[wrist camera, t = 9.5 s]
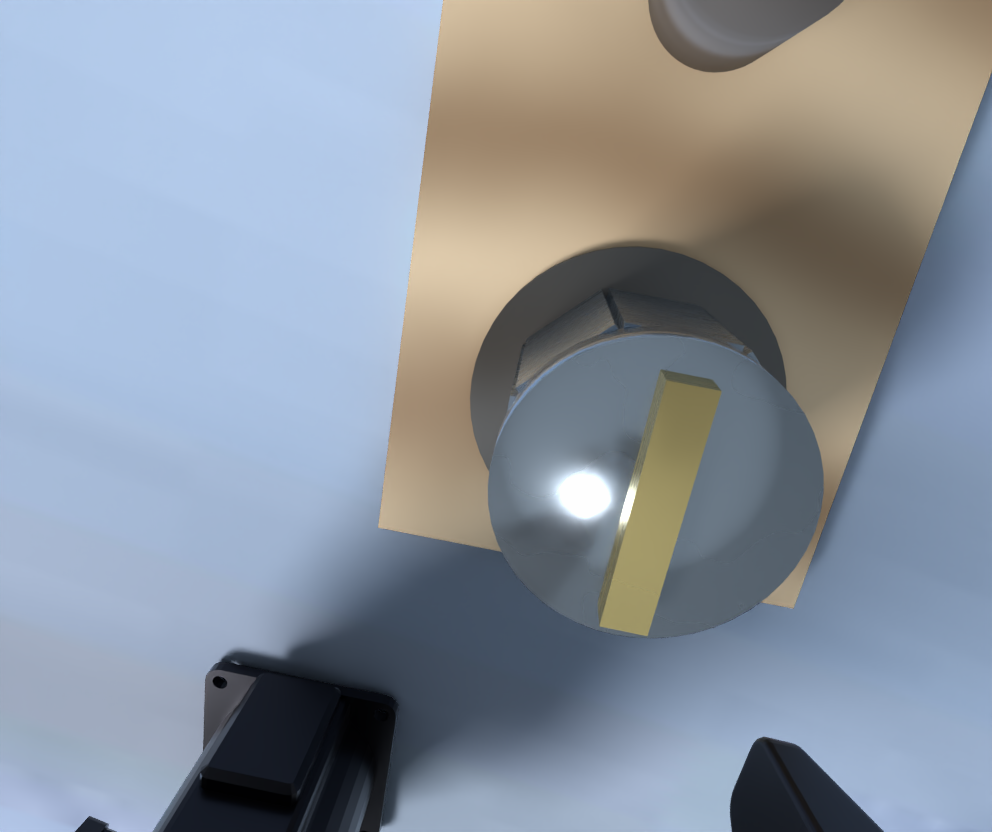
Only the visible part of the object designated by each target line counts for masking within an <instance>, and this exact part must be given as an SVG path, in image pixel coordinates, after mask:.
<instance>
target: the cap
mask: <svg viewBox="0 0 992 832" xmlns="http://www.w3.org/2000/svg"><path fill="white" fill-rule="evenodd" d="M823 494H824V472H823V466H822V459H821V453H820V450H819V446H818V443H817V440H816V437H815V434H814V431H813V429H812V427H811V425H810V423H809V421H808V419H807V417H806V415H805V413H804V412H803V411H802V409H801V408H800V406H799V405H798V403H797V402H796V401H795V399H794V398H793V396H792V395H791V394H790V393H789V392H788V391H787V390H786V389H785V388H784V387H783V386H782V385H781V384H780V383H779V382H778V381H777V380H776V379H775V378H774V377H773V376H772V375H771V374H770V373H769V372H768V371H766V370H765V369H764V368H763V367H762V366H761V364H760V363H759V361H758V359H757V358H756V356H755V354H754V353H753V351H752V350H751V349H749V348H748V347H747V346H746V345H745V344H744V343H743V342H741V341H740V340H739V339H738V338H737V337H736V336H735V335H733V334H732V333H731V332H730V331H729V330H728V329H727V328H725V327H724V326H723V325H722V324H721V323H720V322H719V321H717V320H716V319H715V318H714V317H713V316H712V315H711V314H709V313H708V312H707V311H706V310H703V309H702V308H701V307H700V306H699V305H695V304H690V303H685V302H680V301H674V300H669V299H664V298H659V297H654V296H649V295H643V294H638V293H633V292H628V291H623V290H618V289H612V288H609V290H608V294H607V297H606V296H605V294H604V293H603V291H602V290H600V291H598V292H597V293H595V294H594V295H592V296H591V297H589V298H588V299H586V300H585V301H583V302H582V303H580V304H578V305H577V306H575V307H574V308H572V309H571V310H569V311H568V312H566V313H565V314H563V315H562V316H560V317H559V318H557V319H556V320H554V321H553V322H551V323H550V324H548V325H547V326H545V327H544V328H542V329H541V330H539V331H537V332H536V333H534V334H533V335H531V336H530V337H528V338H527V339H526V343H525V345H522V348H521V353H520V357H519V361H518V365H517V369H516V373H515V377H514V382H513V386H512V390H511V394H510V399H509V404H508V409H507V413H506V415H505V418H504V420H503V422H502V425H501V427H500V430H499V434H498V437H497V441H496V445H495V449H494V453H493V457H492V461H491V464H490V470H489V479H488V507H489V513H490V519H491V525H492V528H493V531H494V534H495V537H496V540H497V543H498V545H499V547H500V549H501V551H502V553H503V555H504V558H505V559H506V561H507V562H508V564H509V566H510V567H511V569H512V570H513V572H514V573H515V575H516V576H517V577H518V578H519V579H520V580H521V582H522V583H523V584H524V585H525V586H526V587H527V589H528V590H530V591H531V592H532V593H533V594H534V595H535V596H536V597H537V598H538V599H540V600H541V601H542V602H543V603H545V604H546V605H547V606H549V607H550V608H552V609H553V610H555V611H556V612H557V613H559V614H561V615H563V616H565V617H567V618H569V619H570V620H572V621H574V622H576V623H579V624H581V625H584V626H587V627H589V628H592V629H594V630H598V631H602V632H606V633H610V634H613V635H620V636H627V637H634V638H664V637H676V636H681V635H687V634H692V633H696V632H700V631H703V630H707V629H710V628H713V627H716V626H718V625H721V624H723V623H725V622H728V621H730V620H733V619H734V618H736V617H738V616H740V615H741V614H743V613H745V612H747V611H749V610H750V609H752V608H753V607H755V606H756V605H757V604H759V603H760V602H762V601H763V600H764V599H766V598H767V597H768V596H769V595H770V594H771V593H772V592H774V591H775V590H776V589H777V588H778V587H779V586H780V585H781V584H782V583H783V582H784V581H785V580H786V578H787V577H788V576H789V575H790V574H791V572H792V571H793V570H794V569H795V568H796V566H797V565H798V563H799V561H800V560H801V558H802V557H803V555H804V554H805V552H806V550H807V548H808V546H809V544H810V542H811V539H812V537H813V535H814V533H815V530H816V527H817V523H818V520H819V517H820V513H821V507H822V500H823Z"/></svg>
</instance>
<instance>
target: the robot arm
mask: <svg viewBox="0 0 992 832" xmlns="http://www.w3.org/2000/svg"><path fill="white" fill-rule="evenodd" d="M219 676H221V677H223V678H225V679H226V680H223V679H221V678H220V677H219ZM378 709H383V710H385V711H387V713H383V712H381V711H379V710H378ZM398 711H399V708H398V703H397V702H396V700H395V699H393V698H392V697H391V696H388V695H385V694H380V693H375V692H370V691H365V690H360V689H355V688H350V687H345V686H340V685H335V684H330V683H325V682H321V681H316V680H311V679H306V678H301V677H296V676H291V675H286V674H281V673H276V672H271V671H266V670H261V669H256V668H251V667H247V666H242V665H237V664H232V663H227V662H219V663H216V664H215V665H214V666H213V667H212V668H211V670H210V671H209V672H208V674H207V675H206V679H205V707H204V740H203V753H202V754H201V756H200V757H199V759H198V760H197V762H196V764H195V765H194V767H193V768H192V770H191V772H190V773H189V775H188V776H187V778H186V779H185V781H184V783H183V784H182V786H181V787H180V789H179V791H178V792H177V794H176V795H175V797H174V799H173V800H172V802H171V803H170V805H169V806H168V808H167V810H166V811H165V813H164V814H163V816H162V818H161V819H160V821H159V822H158V824H157V825H156V827H155V829H154V830H153V832H380V830H381V824H382V817H383V811H384V804H385V797H386V791H387V784H388V777H389V771H390V764H391V757H392V751H393V744H394V737H395V731H396V724H397V717H398ZM730 819H731V828H732V832H884V831H883V830H882V829H881V828H880V827H879V826H878V825H877V824H876V823H875V822H874V821H873V820H872V819H871V818H870V817H869V816H868V815H867V814H866V813H865V812H864V811H863V810H862V809H861V808H860V807H859V806H858V805H857V804H856V803H855V802H854V801H853V800H852V799H851V798H850V797H849V796H848V795H847V794H846V793H845V792H844V791H843V790H842V789H841V788H840V787H839V786H838V785H837V784H836V783H835V782H834V781H833V780H832V779H831V778H830V777H829V776H828V775H827V774H826V773H825V772H824V771H823V770H822V769H821V768H820V767H819V766H818V764H817V763H816V762H815V761H814V760H813V759H812V758H811V757H810V756H809V755H808V754H807V753H806V752H805V751H804V750H802V749H801V748H800V747H799V746H797V745H795V744H793V743H789V742H785V741H780V740H776V739H772V738H768V737H762V738H759V739H757V740H756V741H755V742H754V744H753V745H752V747H751V749H750V752H749V754H748V756H747V759H746V761H745V763H744V766H743V768H742V770H741V773H740V775H739V778H738V780H737V782H736V785H735V787H734V789H733V792H732V796H731V803H730ZM108 825H109V824H108V823H105V822H103V821H100V820H98V819H96V818H93V817H91V816H89V817H88V818H87V819H86V820H85V821H84V822H83V824H82V825H81V826H80V827H79V828H78V829H77V830H76V831H75V832H116V831H114V830H111V829H109V828H108Z"/></svg>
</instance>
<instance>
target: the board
mask: <svg viewBox="0 0 992 832" xmlns="http://www.w3.org/2000/svg"><path fill="white" fill-rule="evenodd" d="M991 73H992V0H443V6H442V14H441V22H440V30H439V38H438V47H437V55H436V63H435V71H434V79H433V87H432V95H431V103H430V111H429V119H428V128H427V136H426V144H425V152H424V160H423V168H422V176H421V184H420V192H419V201H418V209H417V217H416V225H415V233H414V241H413V249H412V257H411V265H410V273H409V282H408V290H407V298H406V306H405V314H404V322H403V330H402V338H401V346H400V354H399V363H398V371H397V379H396V387H395V395H394V403H393V411H392V419H391V427H390V435H389V444H388V452H387V460H386V468H385V476H384V484H383V492H382V500H381V508H380V517H379V525H378V528H382V529H388V530H393V531H398V532H403V533H408V534H413V535H418V536H423V537H429V538H434V539H439V540H444V541H449V542H454V543H459V544H464V545H470V546H475V547H480V548H485V549H490V550H495V551H500V552H502V551H501V549H500V547H499V545H498V543H497V540H496V537H495V534H494V531H493V528H492V525H491V519H490V513H489V507H488V479H489V470H490V464H491V461H492V457H493V453H494V449H495V445H496V441H497V437H498V434H499V430H500V427H501V425H502V422H503V420H504V418H505V415H506V413H507V409H508V404H509V399H510V394H511V390H512V386H513V382H514V377H515V373H516V369H517V365H518V361H519V357H520V353H521V348H522V345H525V343H526V339H527V338H528V337H530V336H531V335H533V334H534V333H536V332H537V331H539V330H541V329H542V328H544V327H545V326H547V325H548V324H550V323H551V322H553V321H554V320H556V319H557V318H559V317H560V316H562V315H563V314H565V313H566V312H568V311H569V310H571V309H572V308H574V307H575V306H577V305H578V304H580V303H582V302H583V301H585V300H586V299H588V298H589V297H591V296H592V295H594V294H595V293H597V292H598V291H600V290H602V291H603V293H604V294H605V296H606V297H607V294H608V290H609V288H612V289H618V290H623V291H628V292H633V293H638V294H643V295H649V296H654V297H659V298H664V299H669V300H674V301H680V302H685V303H690V304H695V305H699V306H700V307H701V308H702V309H703V310H706V311H707V312H708V313H709V314H711V315H712V316H713V317H714V318H715V319H716V320H717V321H719V322H720V323H721V324H722V325H723V326H724V327H725V328H727V329H728V330H729V331H730V332H731V333H732V334H733V335H735V336H736V337H737V338H738V339H739V340H740V341H741V342H743V343H744V344H745V345H746V346H747V347H748V348H749V349H751V350H752V351H753V353H754V354H755V356H756V358H757V359H758V361H759V363H760V364H761V366H762V367H763V368H764V369H765V370H766V371H768V372H769V373H770V374H771V375H772V376H773V377H774V378H775V379H776V380H777V381H778V382H779V383H780V384H781V385H782V386H783V387H784V388H785V389H786V390H787V391H788V392H789V393H790V394H791V395H792V396H793V398H794V399H795V401H796V402H797V403H798V405H799V406H800V408H801V409H802V411H803V412H804V413H805V415H806V417H807V419H808V421H809V423H810V425H811V427H812V429H813V431H814V434H815V437H816V440H817V443H818V446H819V450H820V453H821V459H822V466H823V472H824V494H823V500H822V507H821V513H820V517H819V520H818V523H817V527H816V530H815V533H814V535H813V537H812V539H811V542H810V544H809V546H808V548H807V550H806V552H805V554H804V555H803V557H802V558H801V560H800V561H799V563H798V565H797V566H796V568H795V569H794V570H793V571H792V572H791V574H790V575H789V576H788V577H787V578H786V580H785V581H784V582H783V583H782V584H781V585H780V586H779V587H778V588H777V589H776V590H775V591H774V592H772V593H771V594H770V595H769V596H768V597H767V598H766V599H764V600H763V601H762V603H767V604H772V605H777V606H782V607H788V608H794V606H795V603H796V600H797V598H798V595H799V592H800V590H801V587H802V584H803V581H804V579H805V576H806V573H807V571H808V568H809V565H810V562H811V560H812V557H813V554H814V552H815V549H816V546H817V544H818V541H819V538H820V535H821V533H822V530H823V527H824V525H825V522H826V519H827V516H828V514H829V511H830V508H831V506H832V503H833V500H834V498H835V495H836V492H837V489H838V487H839V484H840V481H841V479H842V476H843V473H844V470H845V468H846V465H847V462H848V460H849V457H850V454H851V452H852V449H853V446H854V443H855V441H856V438H857V435H858V433H859V430H860V427H861V424H862V422H863V419H864V416H865V414H866V411H867V408H868V406H869V403H870V400H871V397H872V395H873V392H874V389H875V387H876V384H877V381H878V378H879V376H880V373H881V370H882V368H883V365H884V362H885V360H886V357H887V354H888V351H889V349H890V346H891V343H892V341H893V338H894V335H895V332H896V330H897V327H898V324H899V322H900V319H901V316H902V314H903V311H904V308H905V305H906V303H907V300H908V297H909V295H910V292H911V289H912V287H913V284H914V281H915V278H916V276H917V273H918V270H919V268H920V265H921V262H922V259H923V257H924V254H925V251H926V249H927V246H928V243H929V241H930V238H931V235H932V232H933V230H934V227H935V224H936V222H937V219H938V216H939V213H940V211H941V208H942V205H943V203H944V200H945V197H946V195H947V192H948V189H949V186H950V184H951V181H952V178H953V176H954V173H955V170H956V167H957V165H958V162H959V159H960V157H961V154H962V151H963V149H964V146H965V143H966V140H967V138H968V135H969V132H970V130H971V127H972V124H973V121H974V119H975V116H976V113H977V111H978V108H979V105H980V103H981V100H982V97H983V94H984V92H985V89H986V86H987V84H988V81H989V78H990V75H991Z"/></svg>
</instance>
